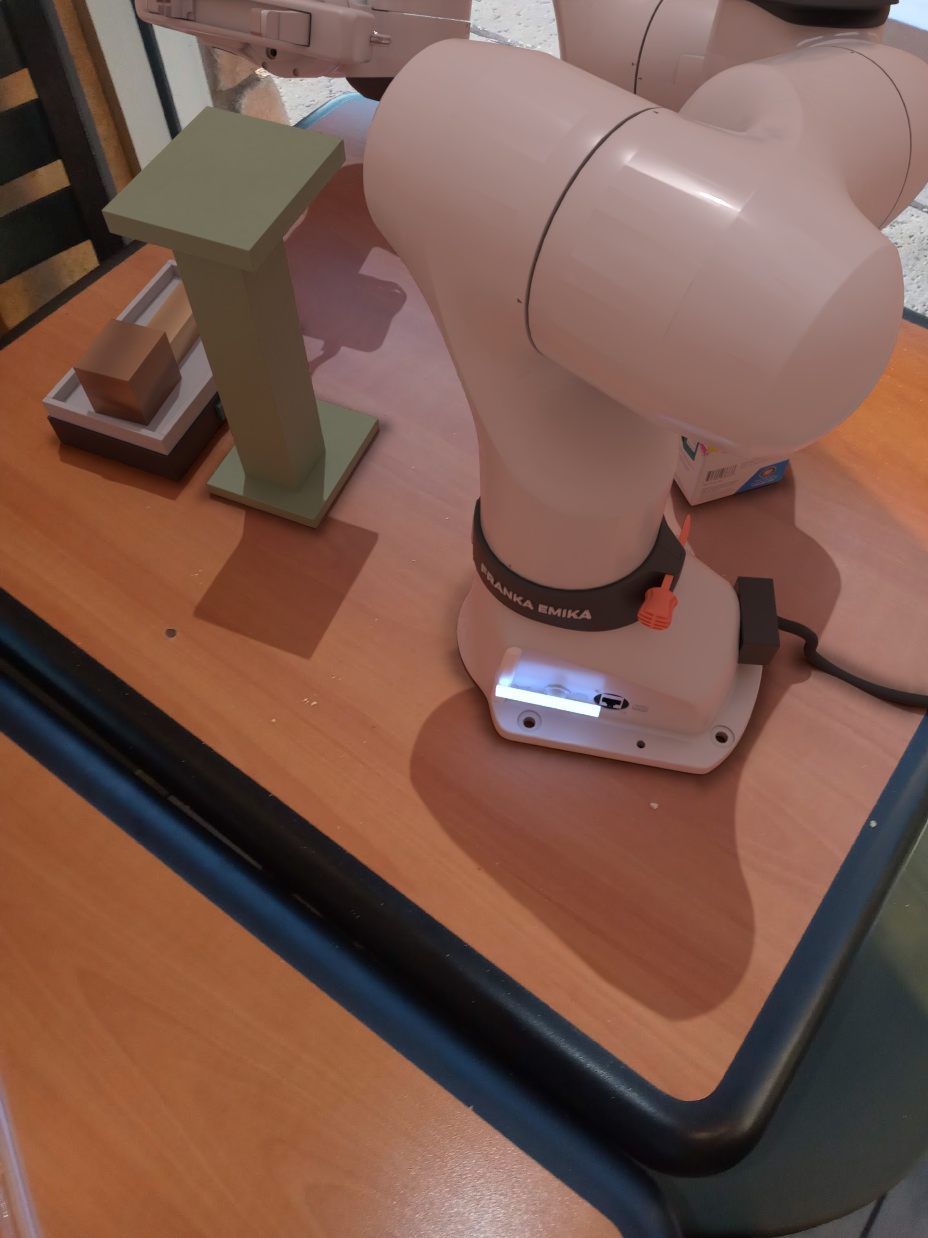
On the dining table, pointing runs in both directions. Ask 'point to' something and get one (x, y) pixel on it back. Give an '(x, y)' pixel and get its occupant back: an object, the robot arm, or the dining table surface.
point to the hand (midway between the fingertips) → (203, 10)
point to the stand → (250, 299)
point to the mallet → (138, 361)
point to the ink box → (721, 472)
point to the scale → (174, 426)
